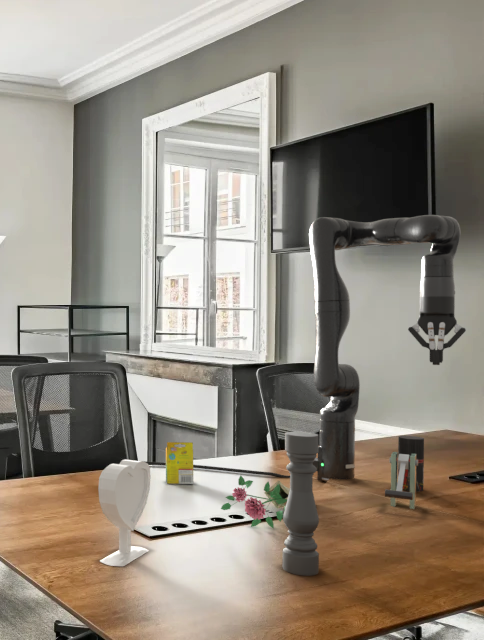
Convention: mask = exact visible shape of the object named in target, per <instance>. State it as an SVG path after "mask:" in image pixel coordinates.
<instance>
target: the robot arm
mask: <svg viewBox="0 0 484 640" xmlns="http://www.w3.org/2000/svg"><path fill="white" fill-rule="evenodd" d="M460 240H461V226H460V224H459V222H458V220H457V219H456V218H454V217H452V216H448V215H447V216H446V215H437V214H424V215H416V216H411V217H394V218H393V217H391V218H383V219H378V220H375V221H368V222H362V221H353V220H348V219H343V218H340V217H327V216H321V217H318V218H316V219H315V220H313V222H312V224H311V225H310V227H309V233H308V241H309V248H310V255H311V262H312V271H313V287H314V299H313V300H314V319H315V352H314V362H313V363H314V365H313V385H314V387H315V390H316V391H317V393H318V394H319V395H320V396H321V397H325V398H330V399H329V402H328V404H327V405H325V406H324V407H322V408H321V409H320V410H319V434H318V453H317V457H316V458H315V459H314V462H313V465H314V466H315V467H316V468H317V471H316V472H317V473H316V475H317V481H322V482H326V483H327V482H328V481H329V480H330V479H331V480H354V479H356V478H355V476H356V475H355V469H356V466H355V464H356V463H355V460H356V458H355V457H356V455H355V454H356V451H355V449H356V415H357V413H358V411H359V405H360V404H359V403H360V387H361V386H360V385H361V384H360V376H359V373H358V371H357V369H356V368H355V367H354V366H352V365H351V364H346V363H339V350H340V349H339V348H340V344H341V341H342V339H343V337H344V334H345V332H346V330H347V327H348V325H349V323H350V319H351V303H350V302H351V301H350V293H349V290H348V287H347V286H346V284H345V282H344V280H343V278H342V276H341V274H340V272H339V270H338V267H337V261H336V251H340V250H345V249H350V248H355V247H359V246H367V245H377V246H379V245H381V246H399V245H411V244H431V248H430V252H429V253H427V254H425V255H423V256H422V258H421V264H420V272H421V273H420V284H419V317H418V319H417V320H416V323H415V324H414V325H412V326H410V327H408V329H407V330H408V332H409V333H410V334H411V335H412V337H413V338H414V339H415V340H416V341H417V342H418V343H419V344H420V345H421V347H423V348H426V349H428V350H429V363H432V365H433V366H440V365H441V364H442V363H443V362H444V350H445V349H449V348H451V347H452V346H454V344H455V343H456V342H457V341H458V340H459V339H460V338H461V337H462V335H464V333H465V332H466V331H467V329H466V328H465V327H463V326H461V325H460V324H458V322H457V319H456V316H455V306H456V305H455V304H456V303H455V302H456V301H455V300H456V299H455V297H456V290H455V289H456V287H455V278H454V275H455V274H454V273H455V272H454V271H455V267H454V266H455V257H456V254H457V251H458V249H459V248H458V247H459V244H460ZM420 329H421V330H422V331H423V333H424V334H425V335H427V336H428V342H427V341H426V340H425V339H424V337H423V336H421V334H420V332H421V330H420ZM453 329H454V330H453ZM452 330H453V332H454V334H453V336H452V337H451V338H449V340H448V341H447V342H445V336H448V335H449V333H450V332H451V331H452ZM436 336H437V344H436ZM436 345H437V346H436ZM140 461H141V462H146V463H148V465H149V466H164V467H166V462H161V461H159V462H158V461H144V460H140ZM193 469H202V470H211V471H213V470H214V471H220V472H221V471H222V472H231V473H240V474H241V473H242V474H249V475H250V474H251V475H261V476H271V477H276V478H285V479H290V475H286V474H280V473H276V472H270V471H261V470H251V469H250V470H249V469H240V468H233V467H232V468H230V467H222V466H211V465H202V464H201V465H200V464H193Z"/></svg>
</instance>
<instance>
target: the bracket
mask: <svg viewBox="0 0 484 640" xmlns="http://www.w3.org/2000/svg"><path fill="white" fill-rule="evenodd" d="M390 455H391V456H389V459H388V460H389V461H388V462H389V464H390V490H395V491H396V490H397V483H398V451H392V453H391V454H390ZM416 466H418V460H416V454H411V456H410V491H409V492H412V493H413V500H409V509H411V510H415V508H416V506H417V492H416ZM397 504H398V498H391V497H390V507H396V506H397Z"/></svg>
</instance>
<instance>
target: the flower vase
mask: <svg viewBox="0 0 484 640" xmlns="http://www.w3.org/2000/svg"><path fill="white" fill-rule="evenodd" d="M237 481H238V486H242V487H237V488H236V487H235V488H234V489H233V490H232V493H231V495H227V496H226V497H224V498H225V499H226V500H228V501H231V502H235V501H236V502H235V503H233V504H231V503H230V502H226V503H224V504H222V506H221V507H220V509H221V510H223V511H228V510H231V507H232V506H233V505H235V504H237V503H240V502H243V501H244V512H246V513H247V515H248V516H249V517H250V518H252V519H253V520H252V521H251V525H250V528H251V527H257V526H258V525H259V524H261V523H262V519H264V518H265V517H264V516H266V513H268V512H267V509H268V507H269V505H270V504H271V503H272V504H273V505H274V507H275V508H276V509H282V508H283V509H282V510H278V511H276V512H275V515H276V519H277V520H278V521H279V522H280V523H281V522H282V520H283V514H284V511H285V507H286V503H287V499H288V495H289V491H290V487H287V486H286V485H284V484H283V483H282V482H281V481H280V480H277V482H275V483H274V484H273V485H271V484H270V482H269V481H267V482H266V483H265V485H264V486H263V491H264V492H263V493H264V494H265V495H266V497H267V498H266V497H261V496H256V495H252V494H247V491H246V489H249V488H250V487H251V486H252V485H253V483H254V480H246V481H245V478H244V477H243V476H242V474H241V475H240V476H239V478H238V480H237ZM244 486H245V487H244ZM247 497H249V498H247ZM257 498H258V499H262V500H266V501H263V502H262V500H258V499H257ZM267 503H268V505H267V507H265V506H266V504H267ZM265 522H266V524H267V525H268V527H270V528H272V529H275V523H274V520H273V518H272V517H271V516H269V515H267V517H266V518H265Z"/></svg>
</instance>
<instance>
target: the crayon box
mask: <svg viewBox="0 0 484 640" xmlns="http://www.w3.org/2000/svg"><path fill="white" fill-rule="evenodd" d="M193 444H194V442H190V441H189V442H185V441H182V442H180V441H178V442H177V441H167V442H166V447H165V463H166V466H165V482H166V484H167V485H171V484H172V485H173V484H174V485H194V484H195V483H194V481H195V480H194V468H193V465H194V445H193ZM177 445H178V446H177ZM179 445H183V446H180V447H179Z"/></svg>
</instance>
